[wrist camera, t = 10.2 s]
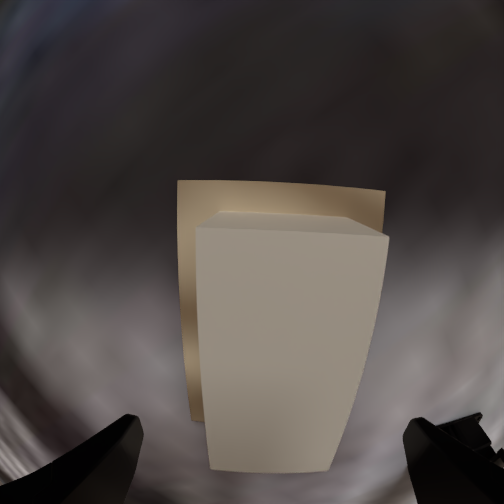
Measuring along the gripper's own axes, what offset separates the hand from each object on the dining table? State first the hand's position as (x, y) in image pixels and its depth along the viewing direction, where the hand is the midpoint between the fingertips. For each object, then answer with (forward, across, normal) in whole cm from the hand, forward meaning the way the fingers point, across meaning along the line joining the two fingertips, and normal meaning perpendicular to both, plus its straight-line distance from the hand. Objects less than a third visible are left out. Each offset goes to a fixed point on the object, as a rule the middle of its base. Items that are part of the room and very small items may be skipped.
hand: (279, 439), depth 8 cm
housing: (+7, 0, 0) cm, 7 cm away
